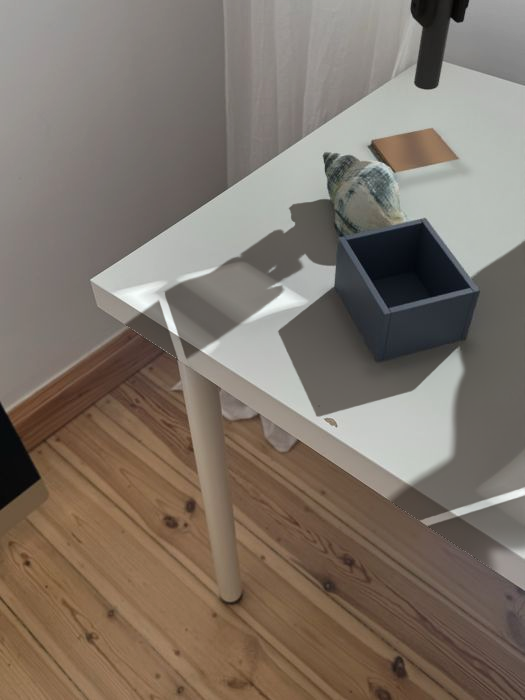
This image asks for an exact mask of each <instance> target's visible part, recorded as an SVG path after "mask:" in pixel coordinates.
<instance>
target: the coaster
mask: <svg viewBox="0 0 525 700" xmlns="http://www.w3.org/2000/svg"><path fill="white" fill-rule="evenodd" d="M370 144H371V145H372V147H373V148H374V150H375V151H376V152H377V153H378V155H379V156H380V157H381V159H382V160H383V161H384V164H385V165H387V166H388V167H390V168H391V169H392V171H393V173H394V174H395V173H400V172H405V171H410V170H414V169H420V168H425V167H429V166H433V165H438V164H442V163H448V162H451V161H458V160H460V157H459V156H457V154H456V153H455V151H453V149H451V147H450V146H449V145H448V144H447V142H446V141H445V140H444V139H443V138H442V137H441V136H440V134H439V133H438V132H437V131H436V130H435V129H434V127H430V128H424V129H419V130H415V131H414V130H413V131H409V132H404V133H400V134H394V135H390V136H384V137H379V138H375V139H371V143H370Z"/></svg>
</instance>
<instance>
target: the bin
mask: <svg viewBox="0 0 525 700" xmlns="http://www.w3.org/2000/svg"><path fill="white" fill-rule="evenodd" d="M408 221H409V220H408ZM335 258H336V259H335V272H334V284H333V286H334V289H335V291H336V293H337V294H338V296H339V298H340V300H341V301H342V303H343V305H344V307H345V308H346V310H347V312H348V314H349V315H350V317H351V319H352V321H353V322H354V325H355V326H356V328H357V330H358V331H359V333H360V335H361V337H362V339H363V341H364V343H365V344H366V346H367V348H368V350H369V351H370V353H371V355H372V357H373V359H374V361H375V362H376V363H377V364H379V363H382V362H385V361H390V360H393V359H397V358H401V357H404V356H408V355H412V354H416V353H420V352H424V351H427V350H431V349H435V348H438V347H442V346H446V345H450V344H453V343H454V344H455V343H457V342H461V341H465V340H467V339H468V335H469V331H470V328H471V324H472V321H473V317H474V314H475V310H476V308H477V307H476V306H477V303H478V299H479V296H480V292H481V290H480V288H479V287H478V286H477V284H476V283H475V282H474V280H473V279H472V277H471V276H470V275H469V273H468V272H467V271H466V269H464V266H463V265H462V264H461V263H460V262H459V260H458V259H457V258H456V256H455V255H454V254H453V252H452V251H451V250H450V248H449V247H448V245H447V244H446V242H445V241H444V240H443V239H442V238H441V236H440V235H439V233H438V232H437V230H435V228H434V226H433V225H432V224H431V223H430V222H429V220H428V219H427V217H422V218H419V219H415V220H410V221H409V222H405V223H400V224H396V225H392V226H387V227H383V228H378V229H374V230H370V231H365V232H361V233H356V234H352V235H347V236H343V237H340V236H339V237H337V246H336V257H335Z"/></svg>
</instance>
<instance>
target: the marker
mask: <svg viewBox="0 0 525 700" xmlns="http://www.w3.org/2000/svg"><path fill="white" fill-rule="evenodd" d="M453 2H454V0H436V3H435V10H434V16H433V22H432V26H430V28H423V27H422V29H421V35H420V41H419V46H418V47H419V48H418V53H417V61H416V67H415V75H414V81H413V84H414V86H415V87H416V88H418V89H421V90H425V91H429V90H434V89H436V88H438V87H439V84H440V78H441V72H442V68H443V62H444V58H445V57H444V56H445V51H446V47H447V39H448V34H449V29H450V23H451V20H452V18H451V13H452V8H453Z"/></svg>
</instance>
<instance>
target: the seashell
mask: <svg viewBox="0 0 525 700" xmlns="http://www.w3.org/2000/svg"><path fill="white" fill-rule="evenodd" d="M322 159H323V164H324V174H325V177H326V188H327V192H328V196H329V199H330V200H331V202H332V203H333V204H334V205H333V210H334V218H335V219H334V221H333V225H334V228H335V230H336V233H337V234H338V236H339V237H343V236H347V235H352V234H356V233H361V232H365V231H370V230H374V229H378V228H383V227H387V226H392V225H396V224H400V223H405V222H409V219H408V217H407V214H406V213H405V212H404V211H403V210H402V208H401V195H400V188H399V182H398V179H397V177H396V174H395V173H393V171H392V169H391V168H390V167H388V165H387V164H386V163H385V162H384V163H383V162H381V161H376V160H360V159H359V158H357V157H355V156H354V155H351V154H341V153H338V152H330V151H325V152H323V154H322Z"/></svg>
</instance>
